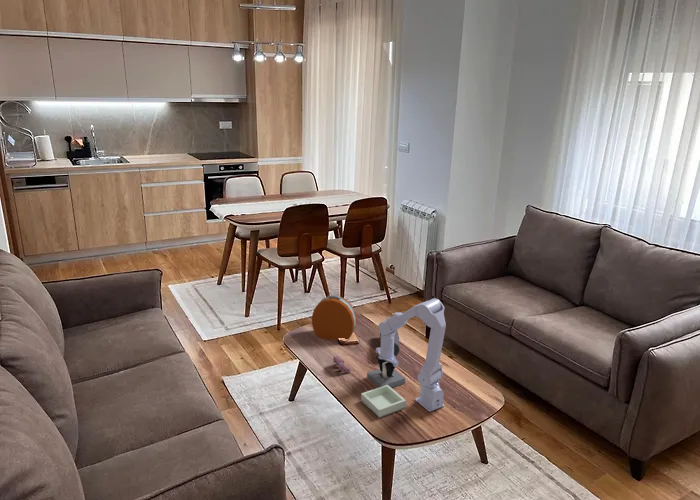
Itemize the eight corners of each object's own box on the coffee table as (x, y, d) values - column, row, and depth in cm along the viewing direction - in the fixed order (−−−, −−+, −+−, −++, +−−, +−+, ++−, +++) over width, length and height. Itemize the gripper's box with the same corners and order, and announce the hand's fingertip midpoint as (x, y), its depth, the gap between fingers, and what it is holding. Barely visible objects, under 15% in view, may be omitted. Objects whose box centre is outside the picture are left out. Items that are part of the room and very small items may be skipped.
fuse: (391, 381, 220) (392, 365, 217) (384, 383, 218) (385, 367, 216) (386, 377, 223) (387, 361, 220) (380, 379, 221) (380, 363, 219)
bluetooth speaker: (400, 360, 237) (401, 341, 234) (380, 359, 237) (381, 341, 234) (397, 337, 259) (397, 320, 256) (379, 337, 259) (379, 319, 256)
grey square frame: (405, 383, 218) (405, 378, 218) (382, 391, 213) (382, 385, 212) (389, 370, 228) (389, 365, 227) (367, 377, 222) (367, 372, 222)
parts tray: (405, 407, 201) (406, 400, 200) (378, 417, 195) (379, 410, 194) (387, 391, 212) (387, 384, 211) (361, 400, 206) (361, 393, 205)
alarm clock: (357, 334, 262) (358, 294, 255) (352, 342, 253) (353, 301, 246) (317, 328, 267) (317, 289, 260) (311, 336, 258) (311, 296, 251)
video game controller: (336, 366, 234) (329, 356, 231) (344, 361, 234) (338, 350, 231) (343, 377, 225) (336, 366, 222) (351, 372, 226) (345, 361, 223)
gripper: (370, 341, 219) (369, 368, 223) (389, 355, 207) (388, 384, 211) (383, 337, 223) (382, 364, 227) (403, 351, 211) (401, 379, 215)
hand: (386, 373), depth 219 cm, fingers open, 4 cm apart
